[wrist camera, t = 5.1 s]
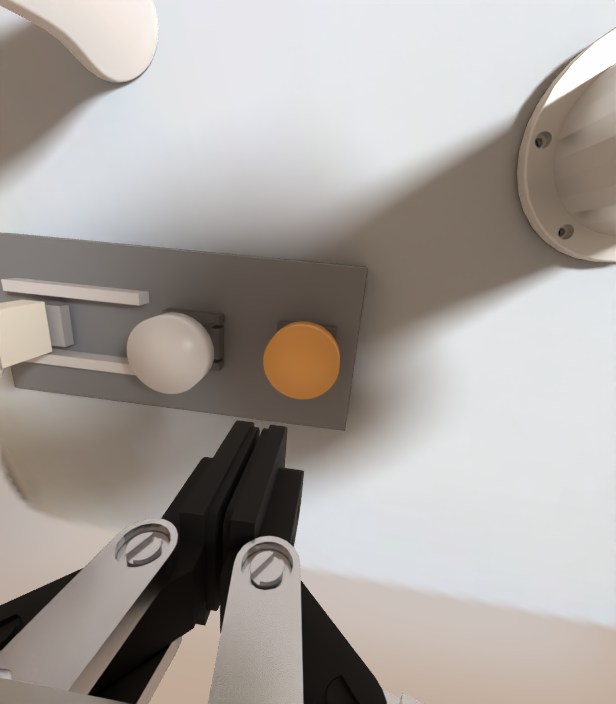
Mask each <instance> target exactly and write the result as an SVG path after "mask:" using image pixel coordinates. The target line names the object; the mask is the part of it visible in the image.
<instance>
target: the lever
mask: <svg viewBox="0 0 616 704" xmlns="http://www.w3.org/2000/svg"><path fill="white" fill-rule="evenodd" d="M73 344H74V340H73V333H72V326H71V319H70V311H69V305H68V304H59V303H50V302H41V301H32V300H16V301H10V302H3V303H0V377H1V376H2V375H3V373H4V368H6V367H9V366H12V365H15V364H18V363H20V362H23V361H26V360H29V359H32V358H35V357H38V356H41V355H44V354H47V353H49V352H52V346H60V347H67V346H70V345H73ZM51 345H52V346H51Z"/></svg>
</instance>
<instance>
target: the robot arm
mask: <svg viewBox="0 0 616 704" xmlns="http://www.w3.org/2000/svg"><path fill="white" fill-rule="evenodd" d="M535 140H536V141H538V147H537V146H536V144H535ZM517 180H518V193H519V197H520V200H521V204H522V208H523V211H524V213H525V215H526V217H527V219H528V221H529V222H530V224H531V226H532V228H533V229H534V230H535V231H536V232H537V234H538V235H539V236H540V237H541V238H542V239H543V240H544V241H545V242H546V243H548V244H549V245H550V246H552V247H553V248H555V249H556V250H557V251H559V252H562V253H564V254H566V255H569V256H571V257H574V258H577V259H583V260H588V261H593V262H616V27H615V28H613V29H612V30H611V31H609V32H608V33H606V34H605V35H603V36H602V37H600V38H599V39H598V40H596V41H595V42H593V43H592V44H591V45H589V46H588V47H587V48H586V49H585V50H584V51H582V52H581V53H580V54H579V55H578V56H577V57H575V58H574V59H573V60H572V61H571V62H570V63H569V64H568V65H567V66H566V67H565V68H564V69H563V70H562V72H561V73H560V74H559V75H558V76H557V77H556V78H555V79H554V80H553V81H552V83H551V84H550V86H549V87H548V89H547V90H546V92H545V93H544V95H543V96H542V98H541V99H540V101H539V102H538V103H537V105H536V107H535V110H534V112H533V114H532V116H531V118H530V120H529V122H528V124H527V126H526V130H525V133H524V136H523V140H522V143H521V146H520V150H519V159H518V167H517ZM559 230H560V231H561V232H560V235H558V232H559ZM259 433H260V430H259V428H257V427H254V423H253V422H246V421H236V422H235V424H234V425H233V427H232V428H231V430H230V432H229V433H228V435H227V436H226V438H225V440H224V441H223V443H222V444H221V446H220V448H219V449H218V451H217V452H216V454H215V455H214V457H213V458H209V457H204V458H203V459H202V460H201V461H200V462H199V464H198V465H197V467H196V468H195V470H194V471H193V473H192V474H191V475H190V477H189V478H188V480H187V481H186V483H185V484H184V486H183V487H182V489H181V490H180V492H179V493H178V495H177V496H176V497H175V499H174V500H173V502H172V503H171V505H170V506H169V508H168V509H167V511H166V512H165V514H164V515H163V517H162V518H161V519H158V518H152V519H145V520H142V521H138V522H135V523H133V524H132V525H130V526H128V527H126V528H125V529H123V530H122V531H121V532H120V533H118V534H117V535H116V536H115V537H114V538H113V539H112V540H111V541H110V542H109V543H108V544H107V545H106V546H105V547H104V548H103V549H102V550H101V551H100V552H99V553H98V554H97V555H96V556H95V557H94V558H93V559H92V560H91V561H90V562H89V563H88V564H87V565H86V566H85V567H84V568H82V569H80V570H78V571H75V572H73V573H71V574H69V575H67V576H64V577H62V578H60V579H58V580H56V581H54V582H51V583H49V584H47V585H45V586H42V587H40V588H38V589H36V590H33V591H31V592H29V593H27V594H25V595H22V596H20V597H18V598H16V599H14V600H11V601H9V602H7V603H5V604H3V605H0V704H148V703H149V701H150V700H151V697H152V696H153V694H154V692H155V690H156V689H157V687H158V685H159V683H160V681H161V679H162V678H163V676H164V674H165V672H166V671H167V669H168V667H169V665H170V663H171V661H172V660H173V658H174V656H175V654H176V652H177V650H178V648H179V645H180V643H181V641H182V635H184V634H185V633H187V632H188V631H190V630H191V629H193V628H194V626H195V624H200V625H205V624H206V622H207V619H208V616H209V613H210V611H211V610H214V611H217V610H218V608H219V606H220V633H221V636H220V641H219V647H218V652H217V658H216V663H215V668H214V674H213V679H212V684H211V690H210V695H209V701H208V704H424V703H422V702H420V701H418V700H416V699H414V698H411V697H410V696H408V695H406V694H402V697H401V699H400V698H398V697H396V696H394V695H392V694H390V693H388V692H386V691H384V690H382V688H381V687H380V685H379V683H378V681H377V680H376V678H375V676H374V675H373V674H372V673H371V671H370V670H369V669H368V667H367V666H366V665H365V663H364V662H363V661H362V660H361V658H360V657H359V656H358V654H357V653H356V652H355V651H354V649H353V648H352V647H351V646H350V644H349V643H348V641H347V640H346V639H345V637H344V636H343V635H342V633H341V632H340V631H339V629H338V628H337V627H336V625H335V624H334V623H333V622H332V620H331V619H330V618H329V616H328V615H327V614H326V612H325V611H324V610H323V609H322V607H321V606H320V605H319V603H318V602H317V601H316V599H315V598H314V597H313V596H312V594H311V593H310V592H309V590H308V589H307V588H306V586H305V585H304V584H303V582H302V581H301V578H300V577H301V576H300V561H299V556H298V554H297V552H296V550H295V548H294V542H295V536H296V531H297V525H298V519H299V512H300V505H301V497H302V487H303V476H304V471H302V470H295V469H287V468H284V467H285V454H286V440H287V427H284V426H276V425H270V427H269V429H265V428H264V429H263V430H262V432H261V435H260V437H259Z"/></svg>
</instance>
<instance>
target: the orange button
mask: <svg viewBox="0 0 616 704" xmlns="http://www.w3.org/2000/svg"><path fill="white" fill-rule="evenodd" d="M263 366H264V371H265V374H266V376H267V378H268V380H269V382H270V383H271V384H272V386H273V387H274V388H275V389H276V390H278V391H279V392H280V393H282V394H284V395H286V396H288V397H291V398H295V399H311V398H315V397H318V396H320V395H322V394H324V393H325V392H326V391H328V390H329V389H330V388H331V387H332V385H333V384H334V383H335V381H336V379H337V376H338V374H339V368H340V351H339V347H338V344H337V342H336V340H335V338H334V337H333V336H332V334H331V333H330V332H329V331H328V330H327V329H325V328H324V327H322V326H321V325H318V324H316V323H313V322H308V321H298V322H293V323H290V324H288V325H286V326H284V327H283V328H281V329H280V330H279V331H278V332H277V333H276V334H275V336H274V337H273V338H272V339H271V340H270V342H269V343H268V345H267V347H266V349H265V352H264V357H263Z"/></svg>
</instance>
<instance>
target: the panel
mask: <svg viewBox="0 0 616 704" xmlns="http://www.w3.org/2000/svg"><path fill="white" fill-rule="evenodd" d="M367 270H368V268H366V267H360V266H350V265H339V264H329V263H318V262H308V261H297V260H287V259H276V258H266V257H255V256H245V255H234V254H224V253H213V252H203V251H192V250H182V249H171V248H161V247H150V246H140V245H129V244H119V243H108V242H98V241H87V240H76V239H66V238H55V237H45V236H34V235H24V234H13V233H0V303H3V302H10V301H16V300H32V301H41V302H50V303H59V304H68V305H69V311H70V319H71V326H72V333H73V340H74V344H73V345H70V346H67V347H60V346H52V345H51V346H52V352H49V353H47V354H44V355H41V356H38V357H35V358H32V359H29V360H26V361H23V362H20V363H18V364H15V365H12V366H11V370H12V374H13V379H14V384H15V388H23V389H30V390H38V391H46V392H53V393H61V394H69V395H76V396H84V397H92V398H99V399H107V400H114V401H122V402H130V403H137V404H145V405H153V406H160V407H168V408H176V409H183V410H191V411H198V412H206V413H214V414H221V415H229V416H237V417H244V418H252V419H260V420H267V421H275V422H282V423H290V424H298V425H305V426H313V427H321V428H328V429H336V430H344V431H345V427H346V420H347V413H348V406H349V398H350V391H351V384H352V377H353V370H354V363H355V355H356V348H357V341H358V334H359V327H360V320H361V312H362V305H363V298H364V291H365V284H366V277H367ZM170 312H176V313H182V314H185V315H188V316H190V317H192V318H194V319H195V320H197V321H198V322H199V323H200V324H201V325H202V326H203V327H204V328H205V329H206V330H207V332H208V334H209V335H210V337H211V340H212V343H213V347H214V360H213V364H212V367H211V369H210V370H209V372H208V373H207V374H206V375H205V376H204V377H203V378H202V379H201V380H200V381H199V382H198V383H197V384H195V385H194V386H193V387H192V388H191V389H189V390H187V391H185V392H182V393H178V394H166V393H161V392H158V391H155V390H153V389H151V388H150V387H148V386H147V385H145V384H144V383H143V382H142V381H141V380H140V379H139V378H138V377H137V376H136V375H135V373H134V372H133V370H132V368H131V366H130V364H129V361H128V357H127V341H128V338H129V336H130V333H131V332H132V330H133V329H134V328H135V327H136V326H137V325H138V324H139V323H141V322H142V321H144V320H147V319H149V318H152V317H155V316H158V315H161V314H164V313H170ZM298 321H308V322H313V323H316V324H318V325H321V326H322V327H324V328H325V329H327V330H328V331H329V332H330V333H331V334H332V336H333V337H334V338H335V340H336V342H337V344H338V347H339V351H340V368H339V374H338V376H337V379H336V381H335V383H334V384H333V385H332V387H331V388H330V389H329V390H328V391H326V392H325V393H324V394H322V395H320V396H318V397H315V398H311V399H295V398H291V397H288V396H286V395H284V394H282V393H280V392H279V391H278V390H276V389H275V388H274V387H273V386H272V384H271V383H270V382H269V380H268V378H267V376H266V374H265V371H264V366H263V357H264V352H265V349H266V347H267V345H268V343H269V342H270V340H271V339H272V338H273V337H274V336H275V334H276V333H277V332H278V331H279V330H280V329H281V328H283V327H284V326H286V325H288V324H290V323H293V322H298Z"/></svg>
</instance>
